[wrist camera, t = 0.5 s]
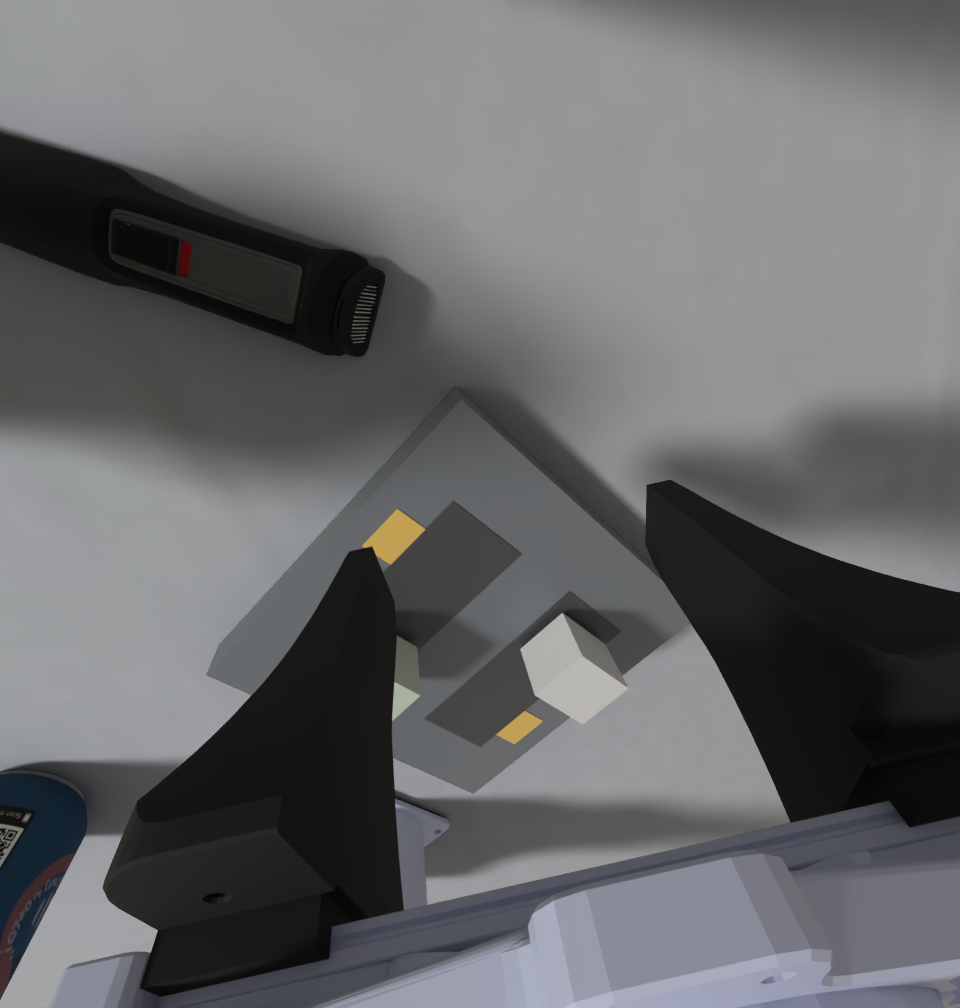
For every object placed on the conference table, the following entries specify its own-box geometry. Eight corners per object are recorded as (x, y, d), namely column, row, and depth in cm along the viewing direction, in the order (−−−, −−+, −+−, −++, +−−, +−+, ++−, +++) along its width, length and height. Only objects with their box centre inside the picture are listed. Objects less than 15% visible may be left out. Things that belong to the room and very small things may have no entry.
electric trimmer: (-126, 66, 15) (-249, 26, 12) (389, 265, 19) (388, 269, 16) (-110, 206, 16) (-215, 198, 13) (364, 360, 21) (359, 379, 18)
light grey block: (564, 678, 27) (582, 724, 25) (520, 649, 26) (534, 695, 23) (605, 644, 27) (628, 688, 24) (562, 612, 25) (582, 656, 23)
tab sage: (378, 683, 25) (377, 734, 23) (318, 652, 24) (310, 703, 21) (417, 647, 25) (420, 695, 22) (358, 613, 23) (354, 660, 21)
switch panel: (469, 764, 33) (473, 794, 32) (218, 645, 26) (205, 675, 24) (680, 591, 29) (699, 614, 27) (455, 386, 21) (461, 400, 20)
